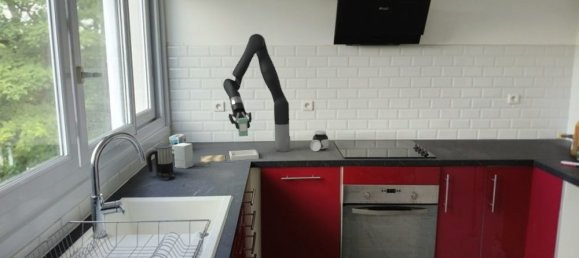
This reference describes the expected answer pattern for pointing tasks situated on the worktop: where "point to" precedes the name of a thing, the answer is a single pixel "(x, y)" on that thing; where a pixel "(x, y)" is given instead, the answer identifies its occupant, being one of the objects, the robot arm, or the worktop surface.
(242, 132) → the carton
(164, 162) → the milk frother
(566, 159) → the worktop surface
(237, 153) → the tray
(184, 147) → the supplement box
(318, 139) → the spread jar
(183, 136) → the light bulb box
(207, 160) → the board
